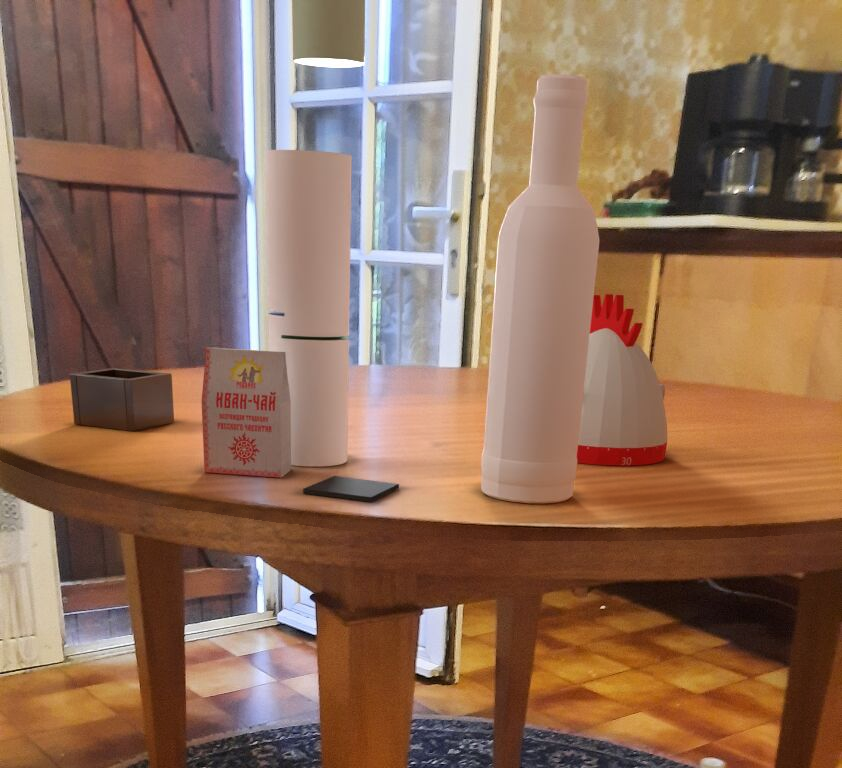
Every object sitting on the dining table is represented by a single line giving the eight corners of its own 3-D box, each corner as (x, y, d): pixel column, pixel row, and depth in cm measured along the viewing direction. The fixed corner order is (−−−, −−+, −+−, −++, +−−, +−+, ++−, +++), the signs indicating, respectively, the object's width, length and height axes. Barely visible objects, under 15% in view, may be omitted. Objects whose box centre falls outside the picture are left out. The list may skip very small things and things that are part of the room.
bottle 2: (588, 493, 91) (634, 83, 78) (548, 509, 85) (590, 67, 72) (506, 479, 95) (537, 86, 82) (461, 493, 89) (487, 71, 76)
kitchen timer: (602, 438, 119) (619, 291, 112) (693, 460, 108) (717, 300, 102) (502, 444, 112) (514, 288, 105) (588, 469, 101) (608, 298, 95)
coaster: (302, 493, 86) (302, 488, 86) (334, 480, 92) (334, 475, 91) (371, 502, 85) (371, 497, 84) (399, 488, 90) (399, 483, 90)
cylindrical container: (314, 449, 104) (314, 157, 94) (363, 461, 100) (369, 156, 89) (255, 456, 100) (248, 150, 89) (303, 469, 95) (302, 148, 84)
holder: (73, 424, 111) (69, 373, 109) (116, 415, 117) (112, 367, 115) (134, 431, 109) (131, 380, 107) (174, 422, 115) (171, 373, 113)
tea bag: (217, 464, 95) (212, 345, 91) (291, 469, 95) (290, 350, 91) (204, 472, 92) (199, 349, 88) (281, 477, 92) (279, 354, 87)
